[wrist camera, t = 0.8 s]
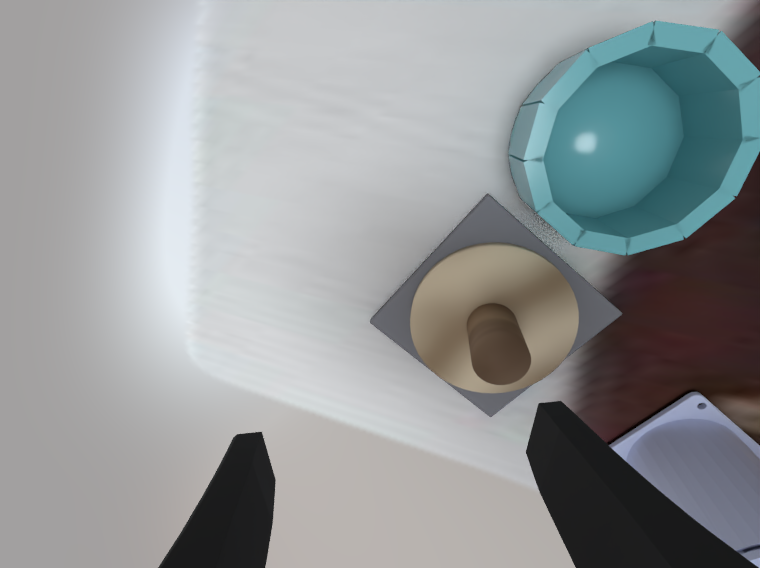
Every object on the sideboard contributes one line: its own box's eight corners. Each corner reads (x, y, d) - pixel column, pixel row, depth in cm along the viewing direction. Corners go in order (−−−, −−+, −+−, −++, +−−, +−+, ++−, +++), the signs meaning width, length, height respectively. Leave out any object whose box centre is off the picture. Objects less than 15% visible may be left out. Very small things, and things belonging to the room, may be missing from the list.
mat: (619, 310, 24) (622, 313, 24) (489, 412, 29) (490, 417, 28) (487, 193, 23) (488, 194, 23) (371, 319, 27) (369, 322, 27)
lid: (609, 314, 24) (650, 358, 20) (490, 409, 28) (501, 465, 23) (488, 207, 23) (501, 228, 18) (380, 322, 26) (368, 363, 22)
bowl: (730, 130, 20) (816, 132, 16) (586, 257, 24) (622, 289, 19) (607, 4, 19) (661, -35, 14) (474, 156, 22) (483, 165, 18)
